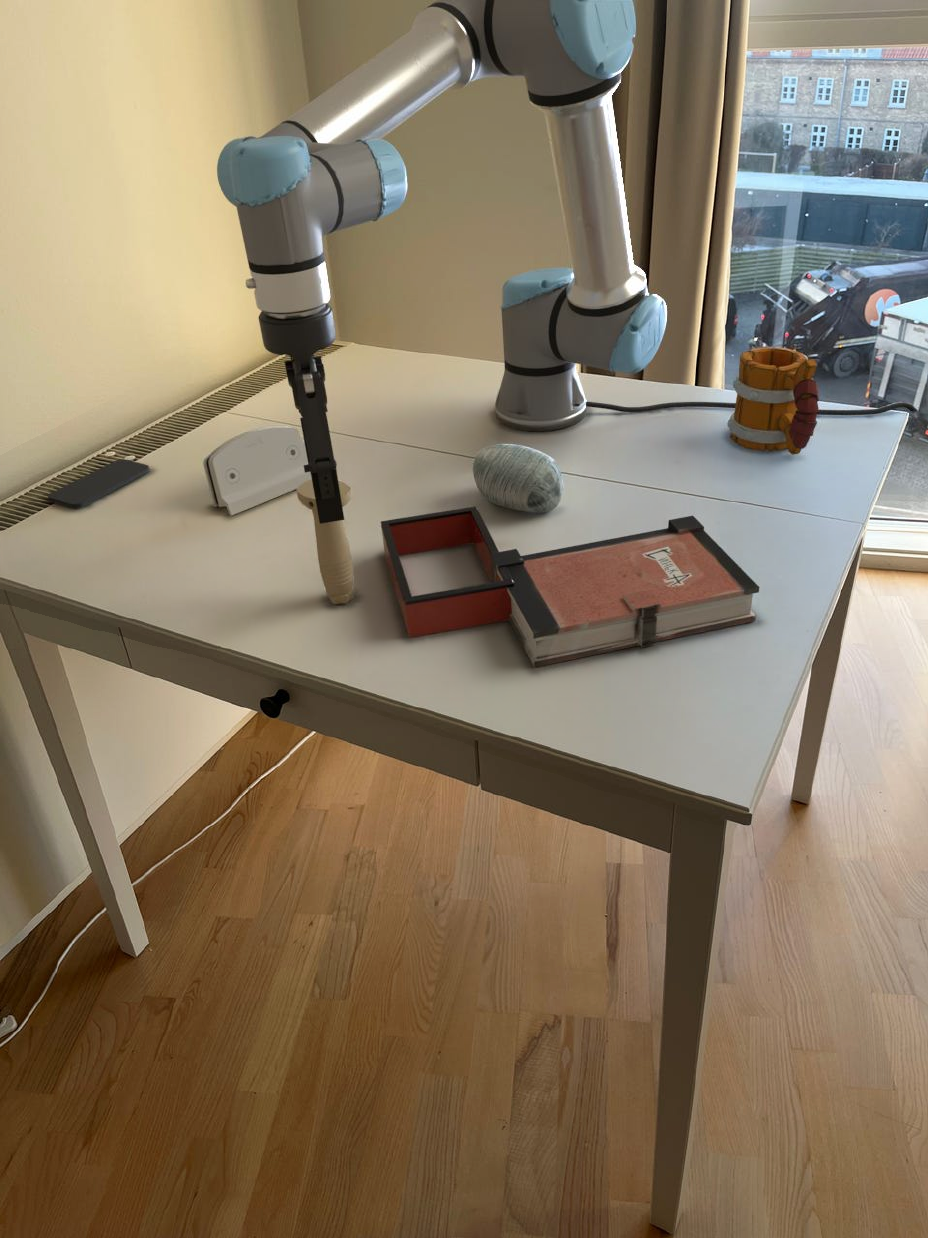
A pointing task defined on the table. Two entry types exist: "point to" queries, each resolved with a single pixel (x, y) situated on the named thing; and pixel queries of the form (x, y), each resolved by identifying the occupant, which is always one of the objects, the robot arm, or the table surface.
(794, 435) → the mug
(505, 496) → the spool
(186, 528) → the table surface
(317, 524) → the handle
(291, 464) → the white piece
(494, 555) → the book
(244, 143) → the robot arm
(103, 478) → the phone
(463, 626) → the red black rectangular frame
